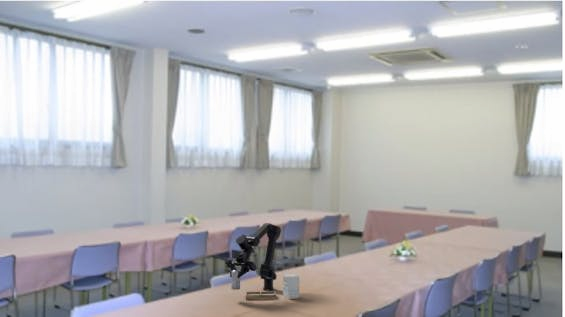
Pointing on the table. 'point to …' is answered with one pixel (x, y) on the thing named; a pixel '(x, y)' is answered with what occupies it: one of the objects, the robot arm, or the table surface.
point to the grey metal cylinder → (235, 280)
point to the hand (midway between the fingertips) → (234, 277)
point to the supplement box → (291, 286)
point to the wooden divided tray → (260, 295)
